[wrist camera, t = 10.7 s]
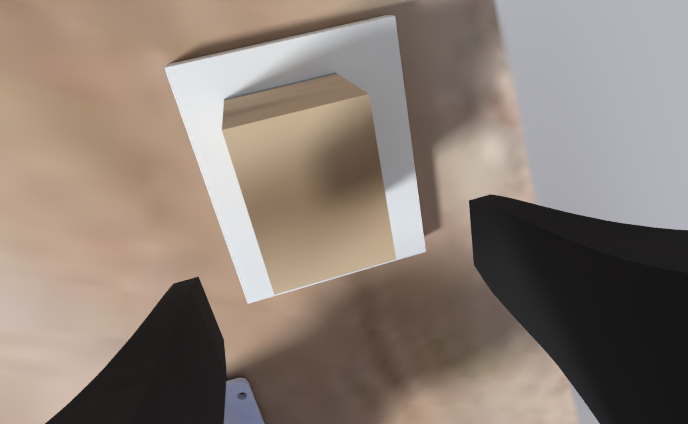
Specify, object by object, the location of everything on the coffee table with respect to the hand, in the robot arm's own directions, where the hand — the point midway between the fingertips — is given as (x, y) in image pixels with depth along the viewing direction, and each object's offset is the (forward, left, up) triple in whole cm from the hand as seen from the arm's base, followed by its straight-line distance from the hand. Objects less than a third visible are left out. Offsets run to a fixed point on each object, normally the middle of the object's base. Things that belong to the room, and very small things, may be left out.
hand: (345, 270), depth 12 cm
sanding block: (0, 0, -9) cm, 9 cm away
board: (0, -1, -10) cm, 10 cm away
